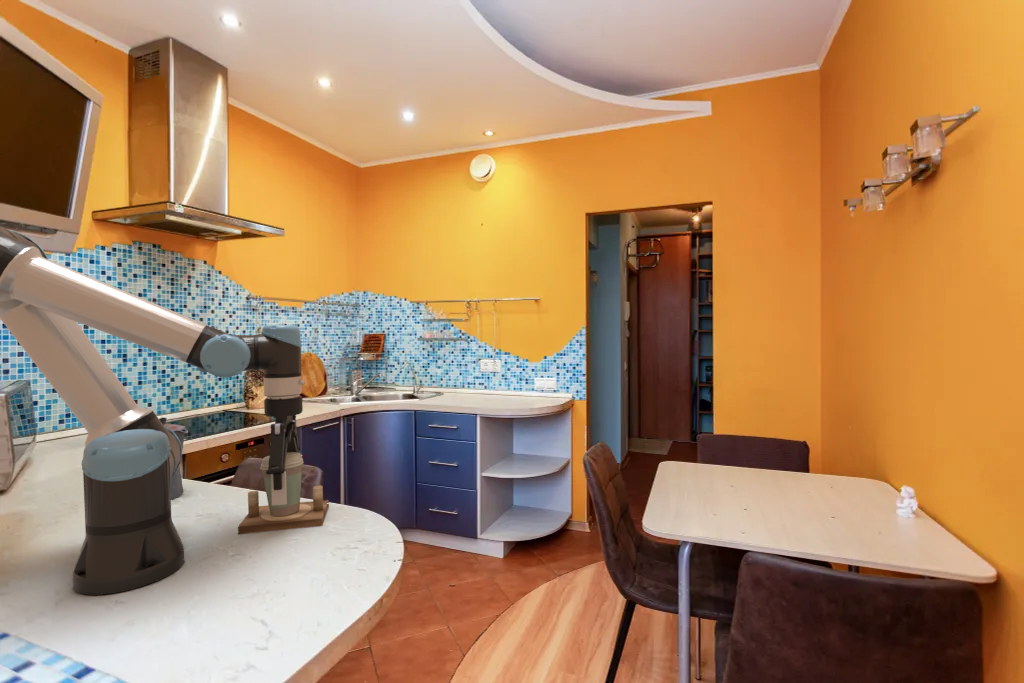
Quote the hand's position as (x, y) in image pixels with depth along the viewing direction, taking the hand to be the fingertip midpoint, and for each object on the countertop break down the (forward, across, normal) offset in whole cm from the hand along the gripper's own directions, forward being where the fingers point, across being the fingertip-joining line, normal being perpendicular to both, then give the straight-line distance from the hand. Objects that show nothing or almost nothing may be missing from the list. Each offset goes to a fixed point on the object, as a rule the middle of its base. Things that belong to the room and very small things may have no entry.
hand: (286, 494), depth 109 cm
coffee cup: (+4, 0, 0) cm, 4 cm away
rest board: (+5, 0, 0) cm, 5 cm away
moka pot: (+6, +25, +34) cm, 43 cm away
